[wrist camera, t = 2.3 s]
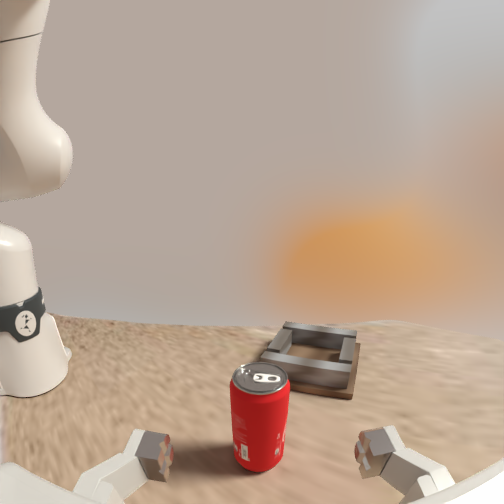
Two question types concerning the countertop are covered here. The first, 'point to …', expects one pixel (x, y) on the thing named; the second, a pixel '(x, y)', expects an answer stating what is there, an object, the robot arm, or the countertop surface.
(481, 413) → the countertop surface
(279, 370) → the beverage can
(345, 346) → the socket block
